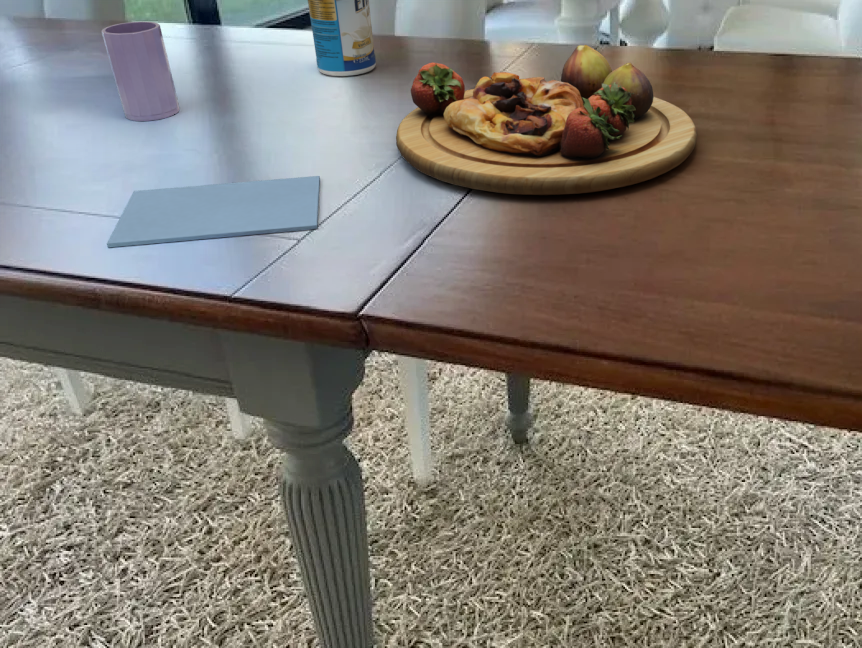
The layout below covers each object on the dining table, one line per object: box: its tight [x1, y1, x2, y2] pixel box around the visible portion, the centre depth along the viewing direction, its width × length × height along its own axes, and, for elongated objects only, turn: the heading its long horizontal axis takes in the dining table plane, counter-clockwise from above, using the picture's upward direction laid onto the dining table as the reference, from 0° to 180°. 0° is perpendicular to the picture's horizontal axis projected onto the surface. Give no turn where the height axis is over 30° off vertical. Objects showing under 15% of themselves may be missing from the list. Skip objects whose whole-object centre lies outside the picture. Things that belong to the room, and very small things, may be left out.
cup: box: [100, 20, 181, 122], centre depth 103 cm, size 6×6×10 cm
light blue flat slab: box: [106, 175, 321, 248], centre depth 80 cm, size 18×12×1 cm, turn 99°
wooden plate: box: [395, 44, 698, 196], centre depth 90 cm, size 32×32×8 cm
